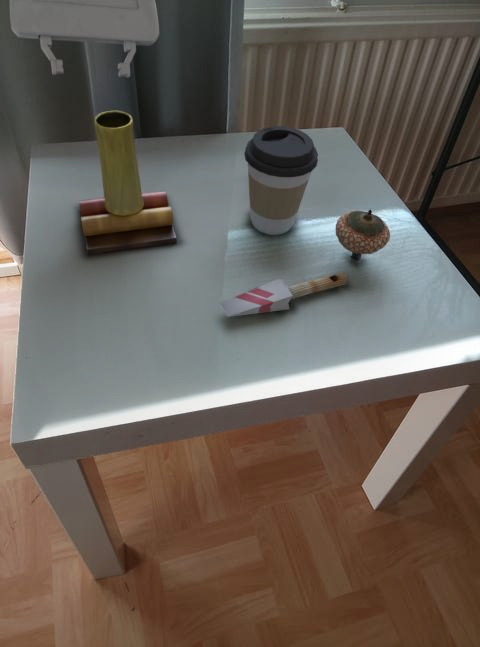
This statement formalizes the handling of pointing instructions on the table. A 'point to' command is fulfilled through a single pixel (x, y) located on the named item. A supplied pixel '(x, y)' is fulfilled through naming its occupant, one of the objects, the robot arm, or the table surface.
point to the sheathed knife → (277, 295)
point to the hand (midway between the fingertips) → (92, 75)
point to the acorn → (362, 233)
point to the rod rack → (127, 225)
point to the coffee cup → (278, 176)
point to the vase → (118, 163)
